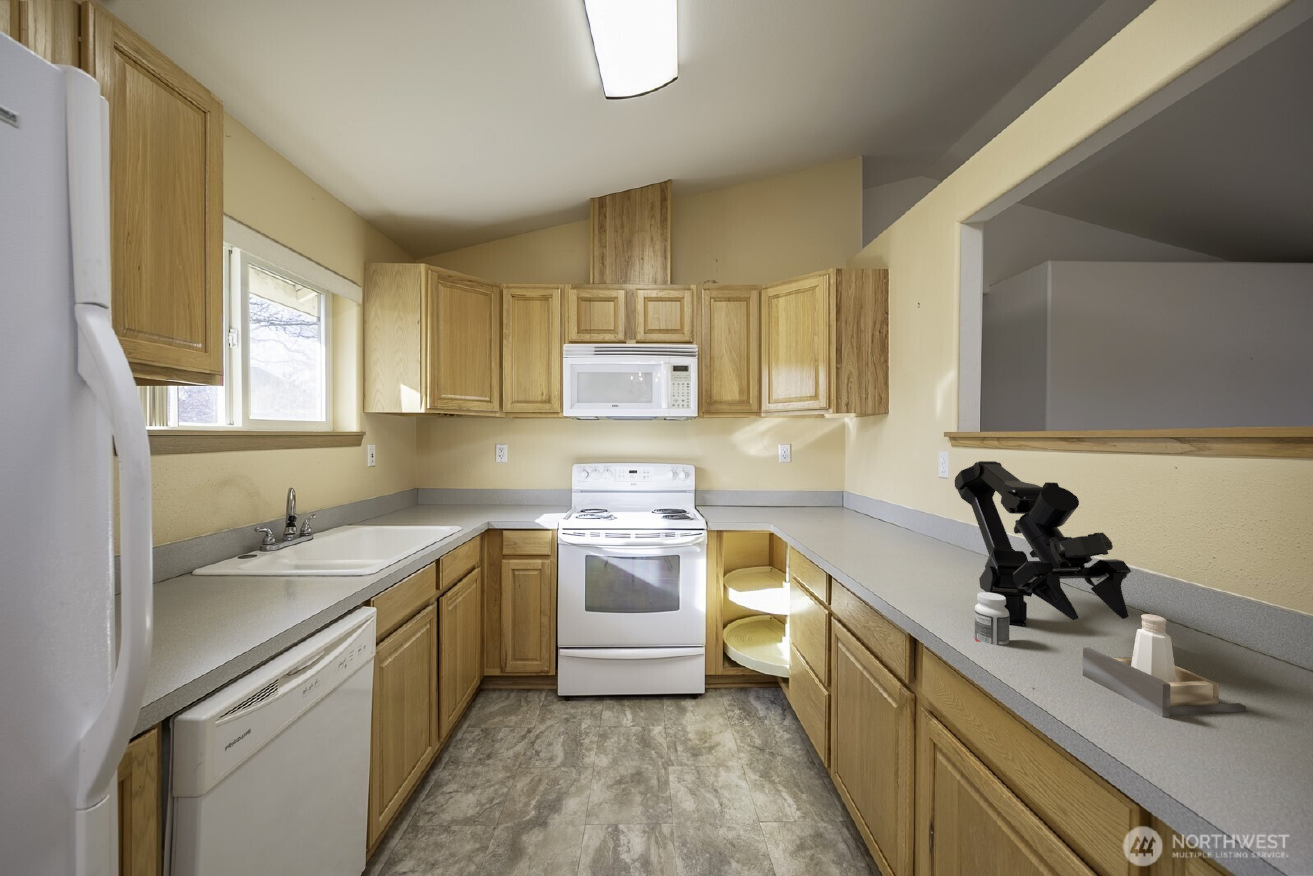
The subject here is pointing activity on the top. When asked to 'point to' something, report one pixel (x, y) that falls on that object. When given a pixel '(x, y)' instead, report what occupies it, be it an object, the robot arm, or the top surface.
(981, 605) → the pill bottle
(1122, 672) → the open wooden tray
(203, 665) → the top surface
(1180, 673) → the light wooden tray
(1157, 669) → the pepper shaker
